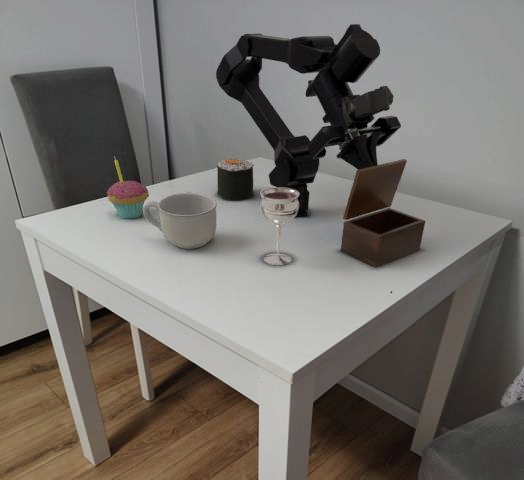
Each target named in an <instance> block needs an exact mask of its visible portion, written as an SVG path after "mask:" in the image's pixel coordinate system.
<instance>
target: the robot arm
mask: <svg viewBox="0 0 524 480" xmlns="http://www.w3.org/2000/svg"><path fill="white" fill-rule="evenodd" d="M334 41H335V40H334V38H333V37H332V36H331V35H313V36H312V35H305V36H304V35H303V36H297V37H293V38H288V37H287V38H286V37H279V36H271V35H264V34H263V33H259V32H258V33H244V34H242V35H241V36H240V37H239V38H238V40H237V42H236V44H235V45H234V46H233V47H232V48H230V49H229V50H227V52H226V53H224V55H223V57H222V58H221V60H220V63H219V64H218V66H217V68H216V70H215V78H216V81H217V84H218V86H219V88H220V89H221V90H222V91H223V92H224V93H225V94H226V95H227V96H228V97H230V98H231V99H233V100H235V101H237V102H240V103H241V104H242V106H243V108H244V109H245V110H246V112H247V113H248V114H249V116H250V117H251V119H252V120H253V122H254V123H255V125H256V126H257V128H258V129H259V130H260V132H261V133H262V135H263V136H264V139H266V141H267V142H268V144H269V145H270V146H271V148H272V149H273V152H274V153H273V154H274V157H273V159H274V161H273V162H274V165H275V166H274V168H272V170H271V171H270V172H269V173H268V179H269V180H268V181H269V185H271V186H273V187H284V188H291V189H294V190H296V191H298V192H299V193H300V194H299V196H298V198H297V200H298V201H299V210H298V213H297V215H296V216H295V217H306V216H308V210H309V206H310V205H309V203H310V191H309V189H308V184H313V183H314V182H315V179H316V175H317V173H318V171H319V167H320V159H323V158H324V157H326V156H327V155H326V154H327V150H326V149H327V148H329V147H334V146H338V147H339V148H338V149H339V152H338V154H336V159H340V160H343V161H344V162H346V163H347V164H349V165H350V166H352V167H353V168H355V169H356V170H360V169H364V168H368V167H373V166H377V165H379V164H378V156H377V147H380V146H382V145H384V143H385V142H387V141H388V140H389V139H390V138H391V137H393V135H394V134H395V133H396V132H397V131H399V130H400V129H401V128H402V124H401V122H400V120H399V118H398V116H395V115H386V116H381V117H378V118H377V119H376V120H375V118H376V117H375V115H377V114H379V113H382V112H387V111H389V110H390V109H391V107H390V106H391V105H392V104H393V102H394V93H392V91H391V89H390V88H389V86H388V85H382V86H379V88H375V89H374V90H370V91H367V92H365V93H362V94H354V93H353V91H352V89H351V87H350V85H349V83H351V84H354V83H355V84H356V83H357V82H358V81H359V80H361V78H362V76H363V75H364V74H365V73H366V72H367V71H368V70H369V69H370V67H371V66H372V65H373V63H374V62H375V61H376V60H377V59H378V58H379V57H380V55H381V47H380V44H379V42H378V40H377V39H376V38H374V37H373V35H372V34H370V33H369V32H368V31H366V30H365V29H363V28H362V26H361V24H359V23H351V24H350V25H349V26H348V27H347V28H346V30H345V32H344V34H343V36H342V37H341V39H340V40H339V41H338V43H337V44H336V43H335V42H334ZM249 58H250V59H249ZM263 60H269V61H275V62H281V63H285V64H287V65H288V67H289V69H291V70H293V71H295V72H296V73H299V74H302V75H305V74H314V73H317V74H316V75H315V77H314V79H309V80H308V82H307V87H306V90H305V97H306V98H310V97H311V98H312V97H316V98H317V100H318V102H319V104H320V106H321V108H322V110H323V112H324V116H323V117H322V121H323V123H324V124H330V125H325V126H322V127H321V128H320V129H319V130H318V131H317V133H316V134H315V135H314V136H313V137H312V139H311V140H310V138H309V137H308V136H307V135H306V134H305V135H304V134H303V135H298V136H295V135H294V134H293V133H292V132H291V129H289V127H288V126H287V125H286V123H285V121H284V120H283V119H282V117H281V116H280V114H279V113H278V112H277V110H276V109H275V107H274V106H273V105H272V103H271V102H270V100H269V98H267V96H266V95H265V93H264V92H263V90H262V89H261V88H260V72H261V71H262V69H263ZM374 120H375V121H374ZM373 121H374V122H373ZM372 122H373V123H372ZM370 123H372V124H371V125H370V126H368V124H370Z"/></svg>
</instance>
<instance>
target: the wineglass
mask: <svg viewBox="0 0 524 480" xmlns="http://www.w3.org/2000/svg"><path fill="white" fill-rule="evenodd" d="M259 194H260V196H261V199H260V200H259V201H260V202H259V210H260V213H261V215H262V216H263V218H265V219H266V221H268V223H271V224H273V226H275V229H276V231H275V232H276V234H275V235H276V237H275V238H276V253H270V254H267V255H265V256H264V257H263V260H264V262H265V263H266V264H268V265H273V266H283V265H284V266H285V265H288V264H290V262H292V258H291V257H290V255H287V254H284V253H280V243H281V231H282V227H283V226H284V224H287V223H290V222H291V221H292V220H293V219H294V218H295V217H297V216H296V215H297V213H298V210H299V201H298V200H297V198H298V196H299V194H300V193H299V192H298V191H296V190H294V189H291V188H284V187H275V186H273V187H267V188H263V189H262V190H260V192H259Z"/></svg>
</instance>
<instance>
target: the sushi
mask: <svg viewBox="0 0 524 480" xmlns="http://www.w3.org/2000/svg"><path fill="white" fill-rule="evenodd" d="M217 163H218V165H217V169H216V170H217V195H218V196H219V197H220V198H221V199H223V200H226V201H233V202H235V201H241V200H246V199H251V198H252V197H253V196H254V166H255V165H254V164H253V163H252V162H250V161H248V160H244V159H239V158H232V157H230V158H229V159H222V160H221V161H218V162H217Z"/></svg>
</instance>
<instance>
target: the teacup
mask: <svg viewBox="0 0 524 480" xmlns="http://www.w3.org/2000/svg"><path fill="white" fill-rule="evenodd" d="M150 208H154V209H155V210H156V211H157V214H158V216H159V220H157V219H156V218H155V217H153V216H152V215H151V213H150V212H149V211H150V210H149V209H150ZM142 214H143V217H144V219H146V221H147V222H148V223H150V224H151V225H153V226H154V227H156V228H158V229H159V231H160V232H161V233H162V235H163V237H164V238H165V240H166V241H168V242H169V243H170V244H172V245H173V246H175V247H177V248H180V249H185V250H186V249H187V250H190V249H191V250H192V249H193V250H194V249H198V248H201V247H203V246H205V245H207V244H208V243H209V242H210V241H211V240H212V239H213V238H214V236H215V235H216V232H217V200H215V198H213V197H212V196H209V195H207V194H203V193H199V192H180V193H174V194H169V195H167V196H165V197H163V198H162V199H160V200H159V201H158V202H157V201H155V200H149V201H147V202H145V203H144V204H143V208H142Z"/></svg>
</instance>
